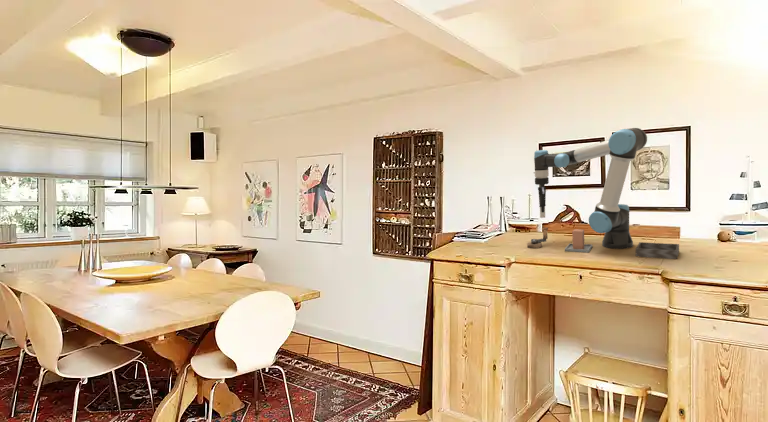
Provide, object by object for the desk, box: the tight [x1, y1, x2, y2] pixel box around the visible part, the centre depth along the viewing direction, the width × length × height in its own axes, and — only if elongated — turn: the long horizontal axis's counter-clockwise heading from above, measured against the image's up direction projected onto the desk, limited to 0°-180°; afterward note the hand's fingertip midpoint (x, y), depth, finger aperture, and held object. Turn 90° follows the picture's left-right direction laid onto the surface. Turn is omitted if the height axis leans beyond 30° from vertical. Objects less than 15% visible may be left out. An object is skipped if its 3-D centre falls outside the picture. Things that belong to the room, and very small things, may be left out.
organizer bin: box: [635, 241, 680, 260], centre depth 239 cm, size 18×14×4 cm
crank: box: [530, 227, 549, 243], centre depth 275 cm, size 10×4×8 cm, turn 102°
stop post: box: [572, 228, 585, 249], centre depth 261 cm, size 5×5×10 cm
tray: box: [564, 242, 593, 253], centre depth 261 cm, size 12×12×2 cm
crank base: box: [526, 241, 543, 249], centre depth 275 cm, size 8×8×2 cm
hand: (542, 217), depth 281 cm, fingers closed
